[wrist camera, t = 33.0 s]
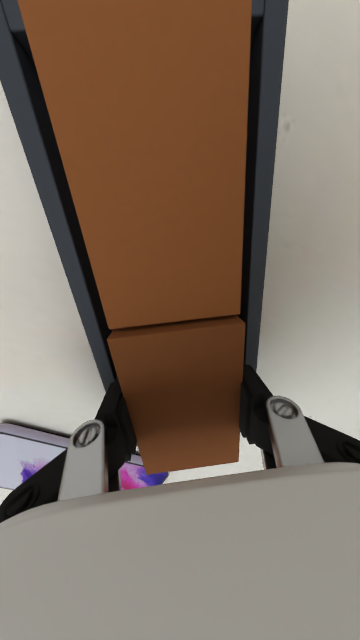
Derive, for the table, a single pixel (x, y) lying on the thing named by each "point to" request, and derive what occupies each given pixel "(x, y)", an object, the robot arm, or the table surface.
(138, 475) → the smartphone
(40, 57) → the brown rectangular block
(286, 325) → the table surface
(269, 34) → the frame
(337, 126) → the table surface
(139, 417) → the brown brick
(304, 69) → the table surface
